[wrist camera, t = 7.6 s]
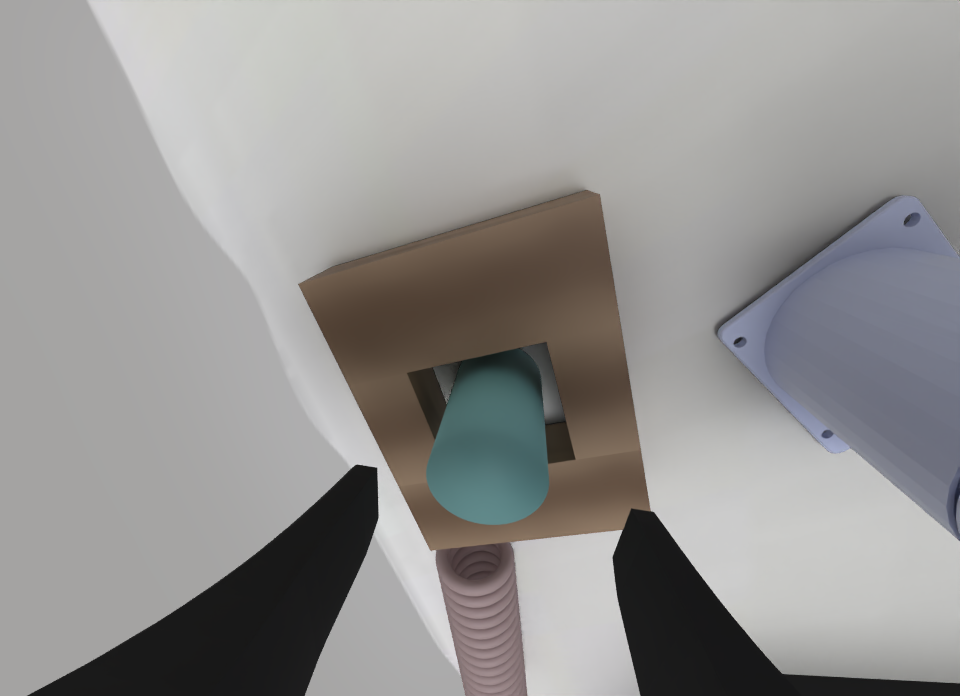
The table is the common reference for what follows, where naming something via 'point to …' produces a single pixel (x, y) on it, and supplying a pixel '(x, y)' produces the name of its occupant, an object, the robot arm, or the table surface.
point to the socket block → (487, 330)
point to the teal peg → (492, 441)
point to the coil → (484, 617)
